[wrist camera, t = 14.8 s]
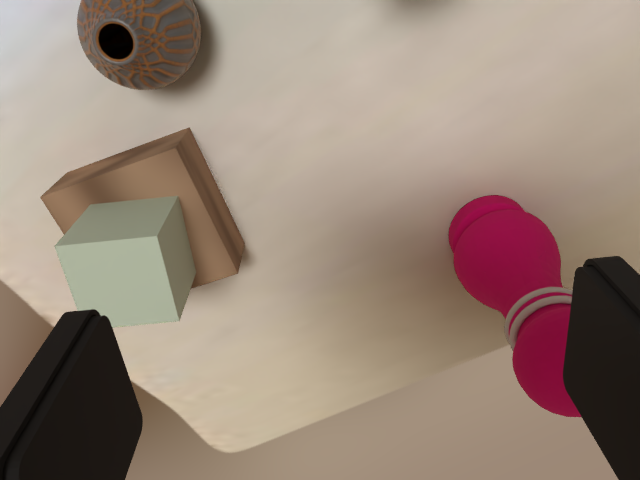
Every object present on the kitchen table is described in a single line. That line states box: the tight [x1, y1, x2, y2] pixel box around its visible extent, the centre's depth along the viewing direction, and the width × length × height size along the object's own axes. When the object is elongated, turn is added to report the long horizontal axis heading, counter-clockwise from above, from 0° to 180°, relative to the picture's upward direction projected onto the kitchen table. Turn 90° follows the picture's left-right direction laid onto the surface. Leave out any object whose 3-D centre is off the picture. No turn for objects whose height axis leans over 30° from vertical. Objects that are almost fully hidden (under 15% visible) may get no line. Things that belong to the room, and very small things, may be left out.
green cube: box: [55, 196, 196, 328], centre depth 36 cm, size 6×6×6 cm
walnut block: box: [40, 128, 245, 288], centre depth 41 cm, size 10×10×5 cm
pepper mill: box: [449, 195, 581, 417], centre depth 35 cm, size 7×7×20 cm
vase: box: [77, 0, 201, 90], centre depth 33 cm, size 7×7×9 cm
